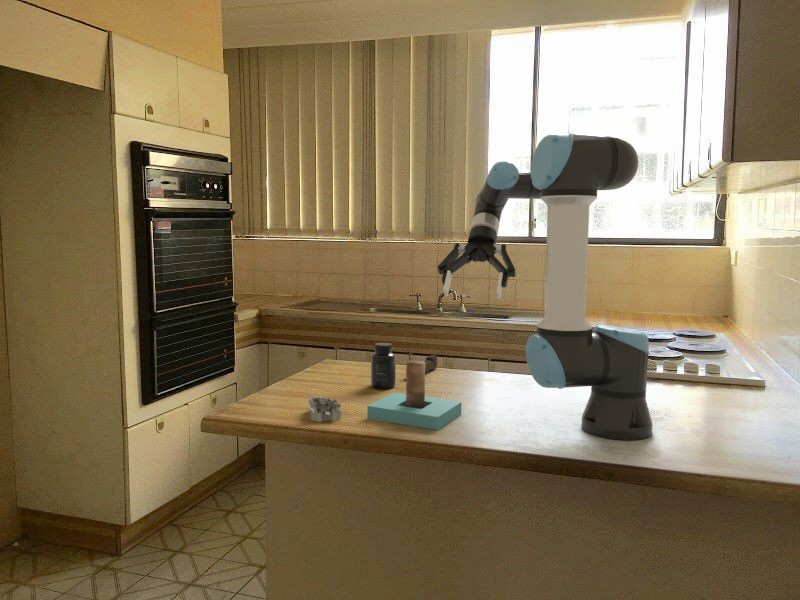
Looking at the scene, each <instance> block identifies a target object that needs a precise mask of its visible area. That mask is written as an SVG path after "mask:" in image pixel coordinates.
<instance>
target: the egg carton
mask: <svg viewBox="0 0 800 600" xmlns="http://www.w3.org/2000/svg"><path fill="white" fill-rule="evenodd" d="M308 408H309V414H310V418H311V421H313V422H316V423H317V422H318V423H322V422H324V421H331V422H337V421H339V420H341V419H342V418H341V417H342V411H341V402H338V400H337V398H333V399H330V397H327V398H325V397H319V396H318V397H312V396H309V397H308Z"/></svg>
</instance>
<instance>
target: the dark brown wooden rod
mask: <svg viewBox="0 0 800 600" xmlns="http://www.w3.org/2000/svg"><path fill="white" fill-rule="evenodd" d="M423 361H424V362H425V374H427V373H428V372H433V371H436V370H437V367H438V357H437V354H431V355H428V356H426V358H425V360H423Z"/></svg>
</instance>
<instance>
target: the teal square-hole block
mask: <svg viewBox="0 0 800 600" xmlns="http://www.w3.org/2000/svg"><path fill="white" fill-rule="evenodd" d="M462 404H463V403H462V401H458V400H450V399H444V398H443V399H442V398H438V397H437V398H436V397H432V396H431V397H430V396H425V407H424V408H423V409H418V408H411V407H406V393H402V392H397V391H395V392H393V393H391V394H388V395H387V396H385V397H383V398H380V399H378V400H377V401H374V402H373V403H371V404H369V405H367V411H366V412H367V416H366V417H367V419H369V420H375V421H381V422H387V423H392V424H399V425H405V426H410V427H411V426H412V427H417V428H418V427H419V428H421V429H423V428H424V429H429V430H436V431H439V430H440V429H442V428H443V427H444V426H446V425H448V424H449V423H451V422H452V421H453V420H455V419H457V418H458V417H459V416H461V415H462Z"/></svg>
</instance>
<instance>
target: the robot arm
mask: <svg viewBox="0 0 800 600" xmlns="http://www.w3.org/2000/svg"><path fill="white" fill-rule="evenodd" d="M530 163H531V165H530V170H521V169H520V170H519V168H518V166H516V164H514V163H513V162H509V161H508V160H500V161H497V162H495V163H494V164H493V165H492V167H491V168H490V170H489V172H488V174H487V176H486V179H485V182H484V185H483V188H481V190H479V192H478V194H477V197H476V199H475V207H474V211H473V212H474V213H473V217H472V221H471V224H470V229H469V234H468V238H467V243H466V245H465V246H464V245H461V244H460V243H457V242H456V243H455V244H454V246H453V249H452V250H451V251H450V252H449V253H448V254H447V255H446V257H445V258H444V259H442V261H441V262H440V263H439V264H438V265H437V271H438V274H439V275H442V278H441V282H442V286H443V285H444V286H443V289H442V290H443V295H444V296H443V297H445V298H446V297H448V296H449V292H450V287H451V283H452V279H453V276H452V274H454V273H455V272H457V271H458V270H460V269H461V268H462V267H463V266H465V265H466V264H467V265H468V264H469V263H471V262H474V263H477V262H481V263H485V262H487V263H489V264H490V265H492V267H493V268H494V269H495V270H496V271H497V272H498V273H499V274H498V282H497V286H496V298H497V300H501V298H502V291H503V288H506V287H507V286H508V280H509V278H510V277H511V278H515V277H516V276H517V275H516V268H515V266H514V264H513V261H512V260H511V258H510V256H509V254H508V252H507V244H501V246H496V245H497V239H498V234H499V228H500V223H501V222H500V221H501V217H502V213H503V211H504V208H505V206H506V204H507V202H508V200H509V199H516V200H517V199H522V200H523V199H526V200H527V199H530V200H541V201H542V202H543V203H544V204H545V205H546V207H547V214H546V215H547V217H546V219H547V221H546V227H547V228H546V253H545V285H544V286H545V287H544V289H545V290H544V293H545V294H544V317H543V319H542V320H540V321H539V322H537V324H536V325H537V326H536V333H534V334H532V335H530V336H529V337H528V338H527V342H526V345H525V355H526V363H527V366H528V369H529V372H530V375H531V377H532V379H534V381H535V382H536V383H537V384H538V386H540V387H542V388H546V389H558V390H562V389H565V388H578V387H583V388H584V387H590V394H589V395H590V396H589V397H588V401H587V402H586V405H585V408H584V411H583V412H582V416H581V425H580V426H581V429H583V430H584V431H585V432H587V433H589V434H591V435H594V436H597V437H601V438H606V439H611V440H621V441H634V440H636V441H637V440H643V439H646V438H649V437H650V436H652V435H653V421H652V417H651V414H650V410H649V406H648V402H647V399H646V398H647V397H646V396H647V380H648V364H649V355H650V351H649V350H650V348H649V347H650V345H649V338H648V336H647V335H646V333H644V332H642V331H639V330H636V329H630V328H625V327H620V326H613V325H607V324H606V325H605V324H597V325H595V326H594V328H593V326H592V325H591V323H589V320H587V318H586V312H587V311H586V310H587V288H588V287H587V282H588V281H587V279H588V256H589V255H588V254H589V253H588V252H589V228H590V227H589V225H590V221H589V220H590V206H591V205H592V204H593V203H594V202H595V201H596V200H597V198H598V191H611V190H618V189H621V188H623V187H625V186H627V185H629V184H630V182H632V180H633V179H634V178H635V176H636V174H637V172H638V168H639V157H638V153H637V150H636V149H635V148H634V146H633V145H632V144H631V142H629V141H628V140H626V139H624V137H620V136H617V135H614V134H596V133H595V134H594V133H593V134H592V133H585V132H584V133H583V132H582V133H581V132H571V131H570V132H569V131H568V132H567V131H566V132H565V131H564V132H552V133H548V134H547V135H545V136H544V137H543V138H542V139H541V140H540V141H539V142H538V144H537V146H536V147H535V150H534V152H533V156H532V159H531V162H530ZM496 253H498V255H499V256H501V258H502V260H503V261H502V262H503V263H504V265H505V266H504V265H503V264H502V262H500V260H499V259H498V258H497V257H496V256H495V255H496ZM459 255H460V256H459Z"/></svg>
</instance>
